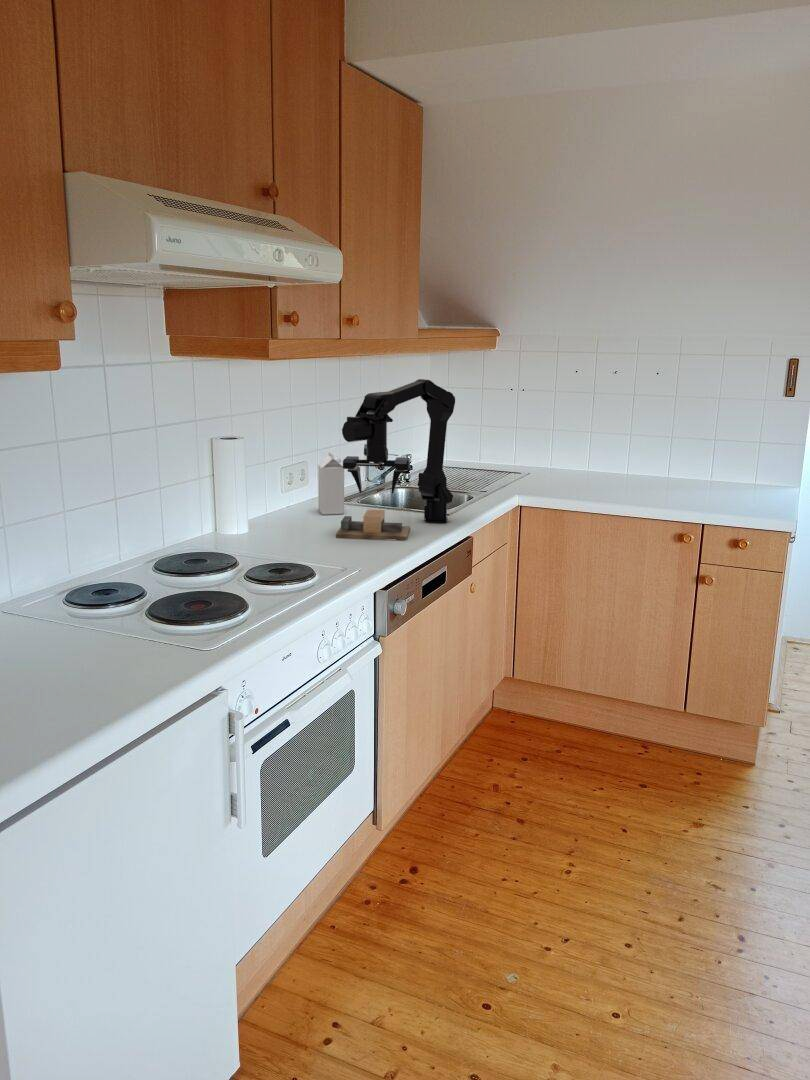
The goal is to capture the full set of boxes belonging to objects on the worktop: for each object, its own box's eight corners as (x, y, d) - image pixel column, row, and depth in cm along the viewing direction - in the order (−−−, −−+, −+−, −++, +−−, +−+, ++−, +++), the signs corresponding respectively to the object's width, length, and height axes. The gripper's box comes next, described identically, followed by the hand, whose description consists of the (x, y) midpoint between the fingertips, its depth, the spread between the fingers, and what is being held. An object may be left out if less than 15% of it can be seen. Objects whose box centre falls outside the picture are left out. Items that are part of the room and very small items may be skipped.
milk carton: (322, 515, 264) (321, 455, 259) (318, 510, 271) (317, 452, 266) (344, 514, 266) (344, 454, 261) (340, 509, 272) (340, 451, 268)
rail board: (410, 530, 247) (410, 516, 246) (406, 540, 235) (406, 526, 234) (342, 527, 248) (342, 514, 247) (336, 537, 237) (335, 523, 236)
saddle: (384, 526, 245) (384, 510, 244) (380, 534, 237) (381, 516, 236) (367, 526, 246) (367, 509, 245) (363, 533, 237) (363, 516, 236)
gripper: (411, 435, 244) (411, 488, 248) (348, 434, 245) (348, 486, 249) (408, 441, 233) (408, 496, 237) (342, 439, 234) (342, 494, 238)
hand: (376, 492), depth 241 cm, fingers open, 9 cm apart
